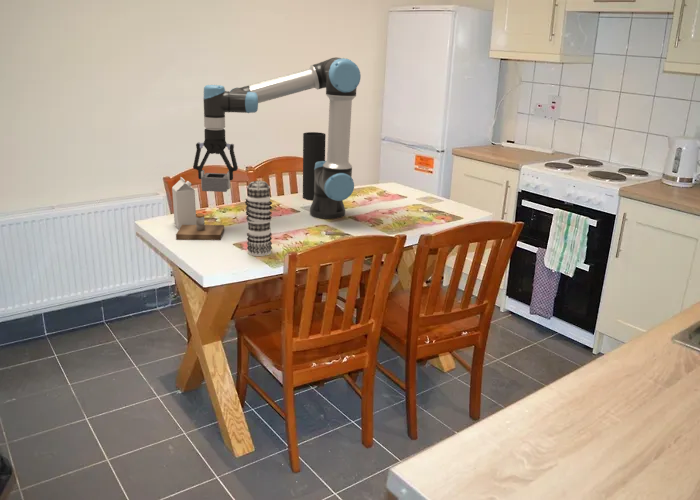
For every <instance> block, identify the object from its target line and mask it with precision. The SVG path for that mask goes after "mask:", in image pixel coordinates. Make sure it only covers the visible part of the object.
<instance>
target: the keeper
mask: <svg viewBox="0 0 700 500" xmlns="http://www.w3.org/2000/svg"><path fill="white" fill-rule="evenodd" d="M224 232H225V225H223V224H219V225H218V224H205V214H204V213H202V212H200V213H196V225H182V226H181V227H180V229H178V231H177V232H176V234H175V239H176V240H177V241H178V240H180V241H181V240H183V241H184V240H185V241H221V239H222V237H223V234H224Z"/></svg>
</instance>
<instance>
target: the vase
mask: <svg viewBox="0 0 700 500" xmlns="http://www.w3.org/2000/svg"><path fill="white" fill-rule="evenodd" d="M326 138H327V137H326V133H323V132H314V131H313V132H311V131H310V132H304V133H302V199H304V200H307V201H308V200H309V201H313V199H314V180H315V170H314V168H315V163H316V162H318V161H326Z"/></svg>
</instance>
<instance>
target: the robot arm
mask: <svg viewBox="0 0 700 500" xmlns="http://www.w3.org/2000/svg"><path fill="white" fill-rule="evenodd" d="M360 82H361V71H360V68H359V66H358V65H357V64H356V63H355V62H354V61H352V60H351V59H348V58H344V57H343V58H341V57H330V58H328V59H325V60H323V61H320V62H317V63H315V64H311V65H310V67H309V68H305V69H303V70H300V71H296V72H292V73H288V74H285V75H282V76H278V77H274V78H270V79H267V80H263V81H260V82H255V83H252V84H248V85H245V86H242V87H234V88H231V89H230V90H229V91H228V90H226V88H225V86H224V85H221V84H220V85H218V84H207V85H204V87H203V98H202V99H203V126H204V131H203V132H204V141H203V142H199V141H198V142H197V143H195V149H196V151H195V156H194V162H193V165H192V169H194V170H196V171H197V173H198V174H197V175H198V180H200V181H201V183H200V184H201V185H200V187H201V189H202V177H203V176H204V175H205V170H204V169H203V168H204V166H205V165H206V162H207V160H208V158H209V156H210V155H213V154H215V155H220V156H221V158H222V160H223V162H224V164H225V166H226V168H227V172H226V174H227V186H228V190H230V189H231V181H233V180H234V172H236V171H237V170H238V169H239V166H238V163H237V158H236V155H235V150H234V148H235V144H234V143H227V141H226V129H225V128H226V113H240V114H241V113H242V114H243V113H244V114H253V113H255V114H256V113H257V111H258V110H259V104H261V103H265V102H268V101H272V100H275V99H280V98H283V97H286V96H289V95H294V94H296V93H300V92H303V91H308V90H312V89H316V90H322V89H325V96H326V97H327V98H328V99H329V106H328V107H329V108H328V131H327V148H326V149H327V153H326V160H325V161H318V162H316V163H315V168H314V170H315V180H314V199H313V200H312V202H311V205H310V208H309V215H310V216H311V217H314V218H318V219H325V220H327V219H328V220H329V219H330V220H331V219H339V218H343V217H345V215H346V207H345V205H344V201H345V200H347V199H348V198H349V197H350V196H351V195H352V194H353V192H354V189H355V182H354V180H353V178H352V175H353V174H352V173H353V166H352V164H351V163H350V162H349V160H350V159H349V158H350V143H351V141H350V140H351V139H350V138H351V122H352V106H353V105H352V104H353V100H354V99H355V98H356V97H357V88H358V86H359V85H360ZM203 147H204V148H205V149H206V151H205V154H204V156H203V158H202V160H201V162H200V164H199V161H200V155H201V152H202V149H203ZM226 147H227V150H228V151H229V154H230V159H231V161H230V160H229V158H228V156H227V154H226V152H225V149H226ZM230 162H231V163H230Z"/></svg>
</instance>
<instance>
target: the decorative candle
mask: <svg viewBox="0 0 700 500" xmlns="http://www.w3.org/2000/svg"><path fill="white" fill-rule="evenodd" d="M270 188H272V187H271V185H269V184H268V183H267V182H266V181H263V180H255V181H254V180H253V181H251V182H249V184H248V185H246V189H247V196H246V198H245V202H244V203H245V206H246V207H245V211H246V212H245V215H246V216H247V217H246V219H245V220H246V222H247V224H248V225H247V226H248V227H247V233H246V236H247V238H246V239H247V242H246V245H247V246H246V248H247V254H248V255H249V256H254V257H266V256H268V254H269V255H271V254H272V253H273V251H272V249H273V246H272V244H273V243H272V240H273V238H272V236H273V234H272V232H271V231H272V230H271V221H272V218H273V216H271V215H272V214H273V212H271V210H272V209H273V206H272V204H273V202H272V201H271V194H270V193H271V192H270ZM271 252H272V253H271ZM265 255H266V256H265Z"/></svg>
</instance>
